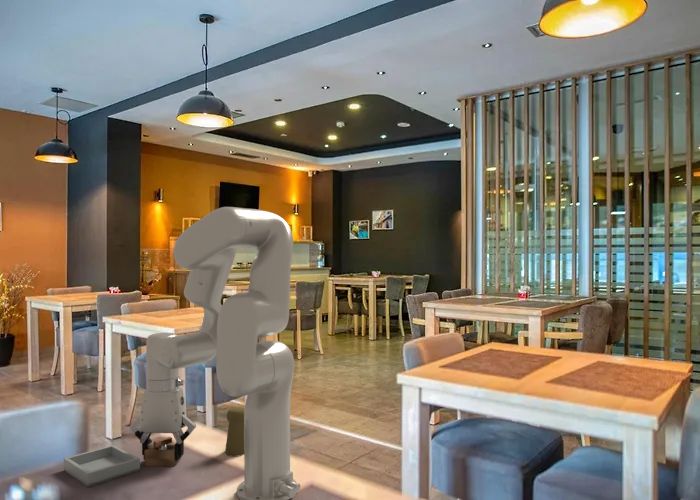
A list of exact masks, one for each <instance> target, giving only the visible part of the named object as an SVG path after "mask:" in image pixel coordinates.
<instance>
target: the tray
mask: <svg viewBox="0 0 700 500" xmlns="http://www.w3.org/2000/svg"><path fill="white" fill-rule="evenodd" d="M63 471H64V472H65V473H67V474H68V475H70V476H71V477H73V478H74V479H76V480H77V481H78V482H80V483H82V485H84V486H86V487H88V488H90V487H93V486H96V485H99V484H103V483H106V482H109V481H112V480H115V479H118V478H121V477H124V476H128V475H131V474H134V473H137V472H140V471H141V458H140V457H137V456H136V455H134V454H132V453H130V452H128V451H126V450H124V449H122V448H120V447H118V446H116V445H114V444H111V445H108V446H105V447H101V448H97V449H93V450H90V451H85V452H82V453H79V454H75V455H71V456H69V457H64V458H63Z"/></svg>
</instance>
